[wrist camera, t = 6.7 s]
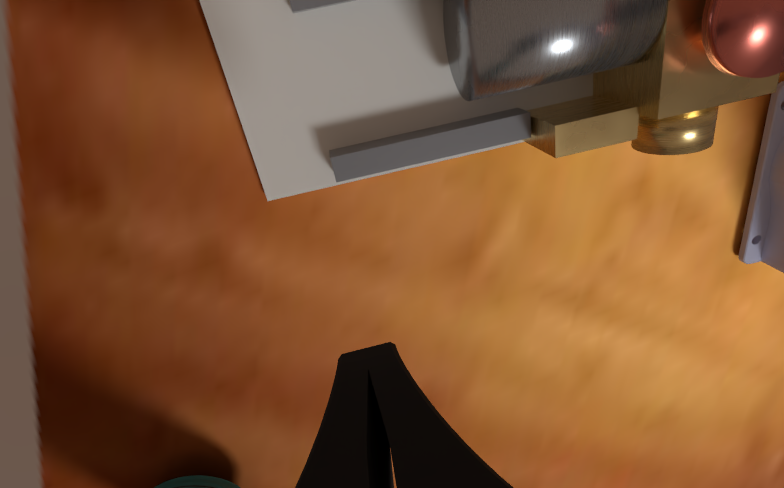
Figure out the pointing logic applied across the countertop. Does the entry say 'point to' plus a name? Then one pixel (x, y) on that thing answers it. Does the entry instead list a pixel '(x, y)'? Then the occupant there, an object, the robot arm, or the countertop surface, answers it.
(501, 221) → the countertop surface
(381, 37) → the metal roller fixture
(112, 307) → the countertop surface
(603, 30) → the metal cylinder
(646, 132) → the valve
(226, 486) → the beverage bottle
